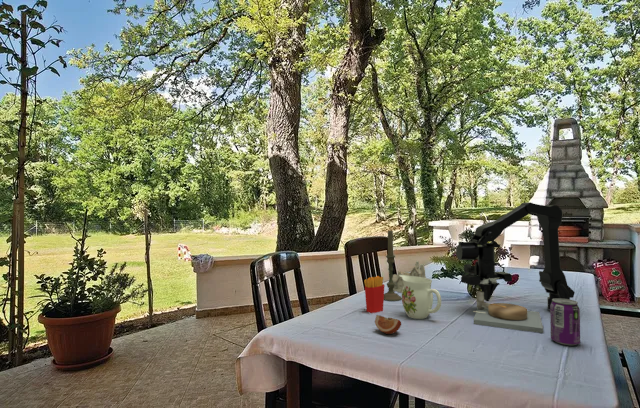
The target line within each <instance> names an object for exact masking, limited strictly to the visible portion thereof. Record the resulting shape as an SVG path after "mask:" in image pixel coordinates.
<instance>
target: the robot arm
mask: <svg viewBox="0 0 640 408" xmlns="http://www.w3.org/2000/svg"><path fill="white" fill-rule="evenodd" d="M563 213H564V212H563V210H562V208H561V207H559V206H557V205H550V204H549V205H543V204H538V203H533V202H522V203H520V205H518V206H517V207H515V208H513V209H512V210H510V211H509V212H507V213H505V214H503V215H502V216H501V217H498V218H497V219H495V220H493V221H490V222H486V223H484V224H482V225H480V226H477V227H476V228H475V233H474V234H473V236H472V237H471V239H470V240H469V241H458V245H457V246H456V250H455V254H456V257H457V259H458V260H459V261H469V260H470V261H471V260H472V261H473V260H476V259H477V260H476V261H475V262H474V265H472V264H471V263H469V264H468V263H467V264H463V272H464V274H462V275H461V277H460V282H461V283H462V284H467V285H469V286H474V285H475V286H477V285H478V287H479V289H480V291H483V292H484V301H485V302H489V301H490V300H491V298H492V295H494V292H495V290H496V289H497V287H498V286H499V285H500V283H499V282H498V281H497V280H504V282H506V283H508V282H513V276H512V274H511V273H510V272H509V273H508V272H504V271H496V266H498V262H496V261H495V260H496V257H495V256H496V255H495V253H496V252H495V248H501V245H500V244H499V243H498V242H497V241H496V240H497V238H499V236H501V234H502V233H503V232H504V231H505V230H506V229H507V228H510V226H512V225H514V224H516V223H517V222H518V221H520V220H521V219H523V218H525V217H526V216H528V215H530V216H534V217H536V218H537V222H538V224H539V225H540V227H541V228H542V237H543V253H544V254H543V255H544V268H543V270H539V272H538V275H539V279H538V280H539V283H540V285H541V286H542V287H543V288H544V290H545V293H546V294H547V293H548V297H547V296H546V297H547V302H546V303H547V306H546V308H547V310H549V312H550V305H551V303H552V299H555V298H562V299H570V300H571V298H572V299H573V298H574V296H575V293H576V292H575V291H574V290H573V289H572V288H571V287H570V286H569V285H568V282H567V279H566V277H567V276H566V274H565V273H564V271H563V270H562V267H561V257H560V242H559V228H560V226H561V224H562V222H563Z"/></svg>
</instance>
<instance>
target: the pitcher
mask: <svg viewBox="0 0 640 408" xmlns="http://www.w3.org/2000/svg"><path fill="white" fill-rule="evenodd" d="M399 276H400V277H401V278H402V279H403V284H404V286H403V289H402V293H401V298H402V299H401V303H402V307H403V309H404V312H405V314H406V315H407V317H409V318H410V319H417V320H424V319H427V318H428V316H429V315H430V314H435V313H437V312H438V311H439V310H441V306H442V296H441V294H440V292H439V291H438V290H437V289H436V288H432V282H433V280H432V279H430V278H427V277H426V278H423V277H416V276H408V275H399ZM433 294H435V296H436V299H437V302H436V303H437V304H436V306H435V307H434V308H433V304H434V303H433V302H434V295H433ZM432 308H433V309H432Z"/></svg>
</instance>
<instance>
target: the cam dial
mask: <svg viewBox="0 0 640 408" xmlns="http://www.w3.org/2000/svg"><path fill="white" fill-rule="evenodd" d="M484 307H485V308H488V313H489V314H490V315H491V316H494V317H497V318H501V319H507V320H524V319H527V311H528V308H526V307H524V306H522V305H520V304H519V305H518V304H513V303H508V302H507V303H505V302H497V303H496V302H493V303H491V302H487V301H485V298H484V292H483V291H482V290H476V309H478V308H479V309H484Z"/></svg>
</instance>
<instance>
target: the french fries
mask: <svg viewBox="0 0 640 408" xmlns="http://www.w3.org/2000/svg"><path fill="white" fill-rule="evenodd" d="M363 281H364V293H365V296H364V297H365V307H366V308H365V309H366V312H367V313H371V314H375V313H381V312H383V310H384V302H385V300H384V294H385V284H384V276H379V275H377V276H370V277H368V278H366V279H364V280H363Z"/></svg>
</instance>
